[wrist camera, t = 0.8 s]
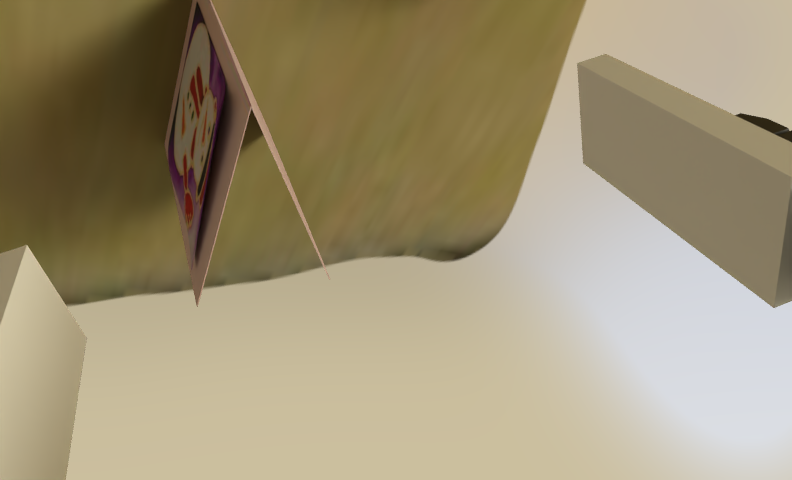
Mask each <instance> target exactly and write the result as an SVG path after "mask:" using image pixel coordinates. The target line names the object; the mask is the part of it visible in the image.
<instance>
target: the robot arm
mask: <svg viewBox="0 0 792 480" xmlns="http://www.w3.org/2000/svg"><path fill="white" fill-rule="evenodd" d="M577 66H578V82H579V99H580V115H581V133H582V150H583V163H584V164H585V165H586V166H588V167H589V168H590V169H592V170H593V171H595V172H596V173H597V174H598V175H600V176H601V177H602V178H604V179H605V180H606V181H607V182H609V183H610V184H611V185H613V186H614V187H616V188H617V189H618V190H619V191H621V192H622V193H623V194H625V195H626V196H627V197H629V198H630V199H631V200H632V201H634V202H635V203H636V204H638V205H639V206H640V207H642V208H643V209H644V210H646V211H647V212H648V213H650V214H651V215H653V216H654V217H655V218H656V219H658V220H659V221H660V222H661V223H663V224H664V225H666V226H667V227H668V228H669V229H671V230H672V231H673V232H675V233H676V234H677V235H679V236H680V237H681V238H683V239H684V240H685V241H686V242H688V243H689V244H690V245H692V246H693V247H694V248H696V249H697V250H698V251H700V252H701V253H702V254H703V255H705V256H706V257H707V258H709V259H710V260H711V261H713V262H714V263H715V264H717V265H718V266H719V267H721V268H722V269H723V270H725V271H726V272H727V273H728V274H730V275H731V276H732V277H734V278H735V279H737V280H738V281H739V282H740V283H742V284H743V285H744V286H746V287H747V288H748V289H750V290H751V291H752V292H754V293H755V294H756V295H758V296H759V297H760V298H762V299H763V300H764V301H765V302H767V303H768V304H769V305H771V306H772V307H773V308H775V307H778V306H780V305H783V304H785V303H788V302H790V301H792V131H789V129H788V128H787V127H784V126H782V125H780V124H778V123H775V122H773V121H771V120H769V119H766V118H761V117H756V116H751V115H746V114H738V115H733V114H731V113H729V112H727V111H725V110H723V109H720V108H718V107H716V106H714V105H712V104H710V103H708V102H706V101H703V100H701V99H699V98H697V97H695V96H693V95H691V94H689V93H687V92H685V91H683V90H681V89H678V88H676V87H674V86H672V85H670V84H668V83H666V82H664V81H662V80H659V79H657V78H655V77H653V76H651V75H649V74H647V73H645V72H643V71H641V70H638V69H637V68H634V67H632V66H630V65H628V64H626V63H624V62H622V61H620V60H618V59H616V58H613V57H611V56H609V55H607V54H604V55H601V56H598V57H595V58H592V59H589V60H586V61H583V62H580V63H578V64H577ZM86 340H87V338H86V336H85V335H84V333H83V332H82V330H81V328H80V327H79V325H78V324H77V322H76V320H75V319H74V317H73V316H72V315H71V313H70V311H69V310H68V308H67V306H66V305H65V303H64V302H63V300H62V299H61V297H60V296H59V294H58V292H57V291H56V289H55V288H54V286H53V285H52V283H51V282H50V280H49V278H48V277H47V275H46V274H45V272H44V271H43V269H42V267H41V266H40V264H39V263H38V261H37V260H36V258H35V257H34V255H33V253H32V252H31V250H30V249H29V247H28V246H27V245H25V246H22V247H19V248H16V249H13V250H10V251H7V252H4V253H1V254H0V480H66V474H67V467H68V460H69V453H70V447H71V440H72V433H73V427H74V426H73V425H74V420H75V413H76V406H77V400H78V393H79V387H80V380H81V373H82V366H83V360H84V353H85V346H86Z"/></svg>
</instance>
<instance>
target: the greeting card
mask: <svg viewBox="0 0 792 480" xmlns="http://www.w3.org/2000/svg"><path fill="white" fill-rule="evenodd" d="M251 108H252V110H253V112H254V115H255V117H256V119H257V121H258V123H259V126H260V128H261V130H262V132H263V134H264V137H265V139H266V141H267V143H268V145H269V148H270V150H271V152H272V154H273V157H274V159H275V161H276V163H277V165H278V168H279V170H280V172H281V174H282V176H283V179H284V181H285V183H286V185H287V187H288V190H289V192H290V194H291V196H292V198H293V201H294V203H295V205H296V207H297V209H298V212H299V214H300V216H301V218H302V220H303V223H304V225H305V227H306V229H307V231H308V234H309V236H310V238H311V240H312V242H313V245H314V247H315V249H316V251H317V253H318V256H319V258H320V260H321V262H322V264H323V267H324V269H325V271H326V268H325V266H324V263H323V261H322V258H321V256H320V254H319V251H318V249H317V246H316V244H315V241H314V239H313V236H312V234H311V232H310V229H309V227H308V224H307V222H306V219H305V217H304V215H303V212H302V210H301V207H300V205H299V202H298V200H297V198H296V195H295V193H294V190H293V188H292V185H291V183H290V180H289V178H288V176H287V173H286V171H285V168H284V166H283V163H282V161H281V159H280V156H279V154H278V151H277V149H276V146H275V144H274V142H273V139H272V137H271V134H270V132H269V129H268V127H267V125H266V123H265V120H264V118H263V116H262V114H261V111H260V109H259V107H258V105H257V102H256V100H255V98H254V96H253V93H252V91H251V89H250V87H249V84H248V82H247V80H246V78H245V75H244V73H243V71H242V69H241V66H240V64H239V62H238V60H237V57H236V55H235V53H234V51H233V48H232V46H231V44H230V42H229V39H228V37H227V35H226V33H225V30H224V28H223V26H222V24H221V21H220V19H219V17H218V15H217V12H216V10H215V8H214V6H213V3H212V1H211V0H193V1H192V6H191V11H190V16H189V21H188V26H187V31H186V37H185V42H184V47H183V52H182V57H181V62H180V67H179V72H178V77H177V82H176V87H175V92H174V98H173V103H172V108H171V113H170V118H169V123H168V128H167V133H166V138H165V143H164V145H165V150H166V155H167V160H168V165H169V170H170V175H171V180H172V185H173V190H174V195H175V200H176V205H177V210H178V215H179V220H180V225H181V230H182V235H183V240H184V245H185V250H186V255H187V260H188V265H189V270H190V275H191V280H192V285H193V290H194V295H195V299H196V305H197V307H198V303H199V300H200V296H201V293H202V289H203V285H204V282H205V278H206V274H207V270H208V267H209V263H210V259H211V256H212V252H213V248H214V245H215V241H216V237H217V233H218V230H219V226H220V222H221V219H222V215H223V211H224V207H225V204H226V200H227V196H228V193H229V189H230V185H231V182H232V178H233V174H234V170H235V167H236V163H237V159H238V156H239V152H240V148H241V145H242V141H243V137H244V133H245V130H246V126H247V122H248V119H249V115H250V111H251ZM326 273H327V271H326ZM327 275H328V273H327ZM328 278H329V275H328ZM329 279H330V278H329Z"/></svg>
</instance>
